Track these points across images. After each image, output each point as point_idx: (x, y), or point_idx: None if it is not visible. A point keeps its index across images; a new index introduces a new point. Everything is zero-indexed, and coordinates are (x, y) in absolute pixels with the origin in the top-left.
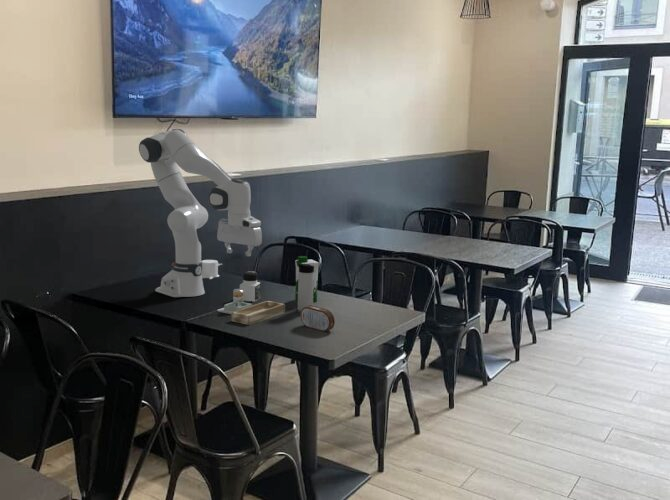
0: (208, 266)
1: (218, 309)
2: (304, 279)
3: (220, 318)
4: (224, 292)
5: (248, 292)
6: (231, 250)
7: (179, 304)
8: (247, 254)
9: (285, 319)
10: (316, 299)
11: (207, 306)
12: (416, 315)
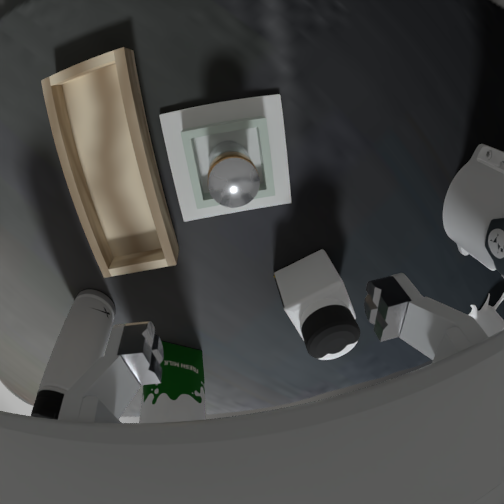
0: (493, 328)
1: (279, 101)
2: (47, 371)
3: (190, 39)
4: (408, 271)
5: (302, 280)
6: (376, 319)
7: (428, 82)
8: (119, 334)
9: (50, 213)
10: None
11: (352, 119)
12: (14, 392)
